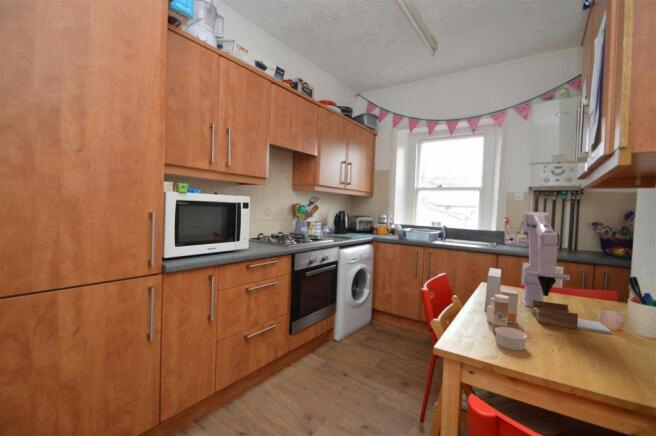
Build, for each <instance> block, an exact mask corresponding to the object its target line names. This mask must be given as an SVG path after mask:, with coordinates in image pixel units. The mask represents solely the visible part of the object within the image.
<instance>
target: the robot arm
mask: <svg viewBox="0 0 656 436" xmlns="http://www.w3.org/2000/svg"><path fill="white" fill-rule="evenodd" d="M522 222H523V223H522V224H523V225H522V227H523V230H525V231H527V233H528V234H527V235H528V265H526V266H524V267H523V268H522V272H521V273H522V274H521V282H522V284H523V285H524V290H523V291H524V292H523V293H524V294H523V296H524V297H523V299H521V302H522V303H523V305H524V306H525V307H529V308H532V305H533V300H536V301H543V302H544V299H545V298H544V297H548V296H549V294H550V291H551V290H552V288H553V286H554V285H555V283H556V280H565V281H570V279H571V278H570V277H571V276H570V275H569V274H565V273H557V259H558V258H557V257H558V248H559V247H560V244H561V235H560V233H559V232H555V231H554V229H553V227H552V226H551V225H550V222H551V214H550V213H549V212H548V211H546V212H544V211H543V212H540V211H525V212H524V213H523V216H522Z"/></svg>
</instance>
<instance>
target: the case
mask: <svg viewBox="0 0 656 436" xmlns="http://www.w3.org/2000/svg"><path fill="white" fill-rule="evenodd" d="M531 308H532V309H531V314H532V316H533V317H534V318H535V320H536V322H537V323H538V324H541V325H548V326H554V327H560V328H567V329H572V330H573V329H574V330H578V329H577V324H578V319H579V314H578V313H576V312H570V310H569V304H564V303H557V302H550V301H544V300H543V301H536V300H533V305H532V307H531Z"/></svg>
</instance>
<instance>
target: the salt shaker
mask: <svg viewBox="0 0 656 436" xmlns="http://www.w3.org/2000/svg"><path fill="white" fill-rule="evenodd" d="M490 303H491V305H490V306H488V307H487V311H486V321H487V322H488V323H490V324H492V325H493V319H494V305H495V300H494V298H491V300H490Z"/></svg>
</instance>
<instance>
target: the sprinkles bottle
mask: <svg viewBox="0 0 656 436" xmlns="http://www.w3.org/2000/svg"><path fill="white" fill-rule="evenodd" d="M494 300H495V305H494V319H493V324H492V326H493V327H492V333H494V334H496V332H495V329H496V328H497V327H508V324H509V322H508V304H509V297H508V296H505V295H499V294H497V295H495V297H494Z"/></svg>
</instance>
